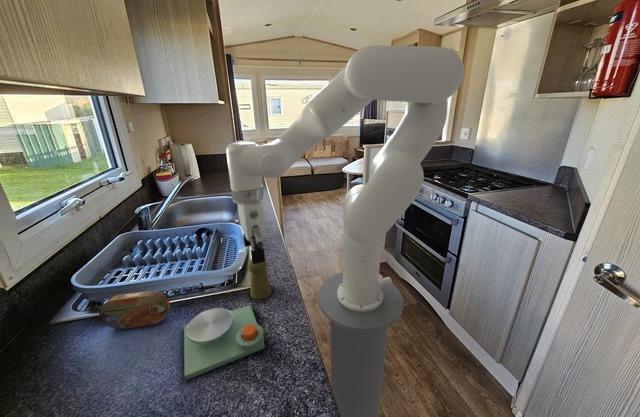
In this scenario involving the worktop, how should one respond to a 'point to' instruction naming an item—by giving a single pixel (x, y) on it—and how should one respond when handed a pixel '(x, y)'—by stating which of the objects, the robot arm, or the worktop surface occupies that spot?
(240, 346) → the scale
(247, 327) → the tare button
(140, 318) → the tin
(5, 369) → the worktop surface
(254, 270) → the olive game pawn
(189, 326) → the pan
